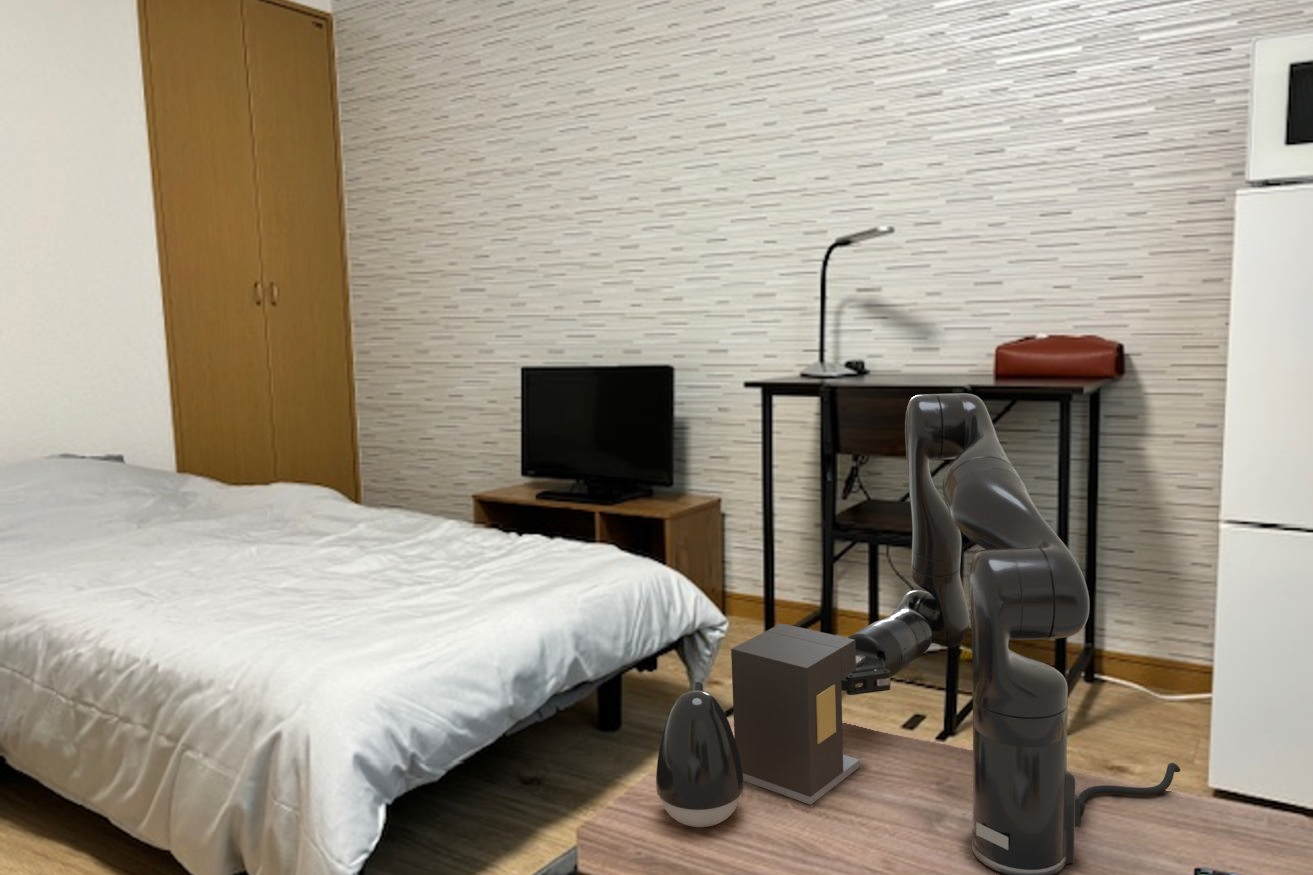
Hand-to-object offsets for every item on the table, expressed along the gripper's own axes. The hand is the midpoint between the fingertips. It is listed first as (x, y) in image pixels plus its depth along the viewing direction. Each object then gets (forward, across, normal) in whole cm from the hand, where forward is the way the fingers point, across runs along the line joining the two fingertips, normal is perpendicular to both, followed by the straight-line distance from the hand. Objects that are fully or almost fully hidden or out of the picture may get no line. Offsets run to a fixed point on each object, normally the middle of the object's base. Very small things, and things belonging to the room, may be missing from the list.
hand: (812, 692), depth 126 cm
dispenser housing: (+4, 0, +9) cm, 10 cm away
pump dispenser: (+19, -4, +10) cm, 21 cm away
